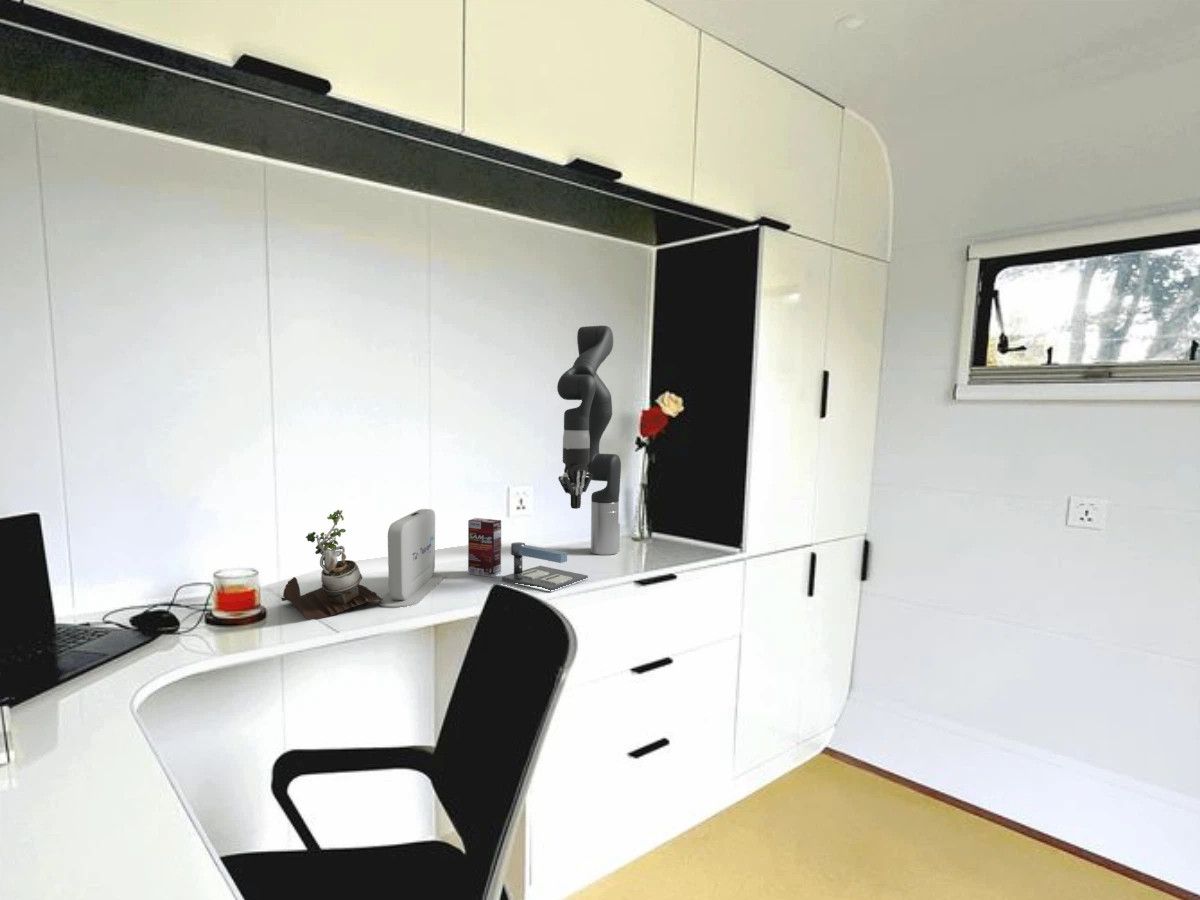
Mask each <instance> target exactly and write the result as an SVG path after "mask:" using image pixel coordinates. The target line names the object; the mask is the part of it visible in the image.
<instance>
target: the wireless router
mask: <svg viewBox="0 0 1200 900" xmlns="http://www.w3.org/2000/svg"><path fill="white" fill-rule="evenodd" d="M387 561H388V562H387V563H388V564H387V565H388V593H386V594H385V595H383V596H382V597H380V598H381V599H383V600H384V601H383V600H377V604H378V606H380V607H383V608H386V607H388V608H387V609H401V608H400V607H403V608H408V607H407V606H409V607H412V605H413V606H415V605H418V604H419V603H420V602H421V601H422V600H423V599H425V598H426V597H427V596H428V595H429V594H430V593H431V592H432V591H433V590H434V589H435V588H436V587H438V586H439V585H440V584H441V582H442V581H444V580H445V575H444V574H442V573H438V572H435V566H436V562H435V561H436V513H435V511H434V510H433V509H431V508H428V509H427V508H421V509H418V510H416V511H414V512H411V513H408V515H404V516H403V517H401V518H399V519H397V520H395V521H393V522H392V523H391V524H390V525H389V527H388V531H387ZM425 596H426V597H425ZM424 597H425V598H424Z"/></svg>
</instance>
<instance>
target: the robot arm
mask: <svg viewBox="0 0 1200 900" xmlns="http://www.w3.org/2000/svg"><path fill="white" fill-rule="evenodd" d="M576 339H577V342H576V343H577V350H578V356H577V358H576V359H575V361H574V363H573V365H572V366H571V367H570V368H569V369H567V371H565V372H564V373H563V374H561V376H560V377H559V379H558V382H557V387H556V389H557V394H558V395H559V397H560V398H562V399H563V400H566V401H581V402H580V404H579V406H577V407H574V408H569V409H565V411H564V414H563V435H562V463H563V464H564V468H563V469H564V471H563V472H564V473H563V474H562V476H561V475H560V476H558V481H559V484H560V485H561V487H562V489H563V490H564V493H565V494H568V495H570V508H571V509H575V510H577V509H581V505H582V495H583V493H586V492H587V490H588V487H589V486H590V484H591V481H595V482H606V486H605V487H604V488H602V489H600V490H597V491H594V492H592V493H591V497H590V498H591V500H590V501H591V503H590V506H591V507H590V509H591V510H590V511H591V512H590V513H591V516H590V523H591V524H590V553H592V554H594V555H600V556H601V555H603V556H604V555H605V556H607V555H609V556H611V555H615V554H618V553H619V551H620V549H621V547H620V545H621V543H620V540H621V538H620V537H621V534H620V533H621V529H620V528H621V524H620V522H619V520H620V519H619V518H620V516H619V515H620V514H619V509H620V503H619V502H620V492H621V491H620V490H621V485H620V484H621V473H622V461H621V458H620V455H618V454H615V453H600V443H601V439H602V436H603V434H604V433H605V431H606V429H607V428H608V425H609V423H610V422H611V419H612V416H613V404H612V403H613V402H612V394H611V392H610V390H609V388H608V387H607V386H606V384H605V383H604V381H603V380H602V379H601V378H600V376H599V375H598V372H597V371H598V370H599V368H600V366H601V365H602V364H603V362H604V361H605V360H606V359H607V358H608V356H609V355H610V354H611V353H612V351H613V348H614V335H613V331H612V329H611V327H610V326H607V325H591V326H590V325H589V326H581V327H579V328H578V331H577V334H576Z"/></svg>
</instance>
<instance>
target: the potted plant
mask: <svg viewBox="0 0 1200 900" xmlns="http://www.w3.org/2000/svg"><path fill="white" fill-rule="evenodd" d="M342 513H344V512H343V510H342V509H340V510H339V509H337V510H336V511H333V514H332V513H330V514H329V515H328V516H326V519H328V520H332V521H333V526H332V527H331V528H330V530H329V531H328V532H327V534H325V532H320V536H319V535H318V534H317V533H316V532H315V531H312V532H309V533H308V534H307V535H306V536H305V539H306V540H307V542H311V543H314V542H315V541H316V542H317V544H316V547H315V552H314V553H315V555H319V554H320V555H321V556H320V559H319V566H320V567H321V569H322V570H321V573H320V574H321V577H320V579H321V587H319V588H317V589H314V590H312V591H310V592H307V593H304V594H301V588H300V584H299V582H298V579H297V578H296V576H294V577H292V578H291V579H290V580H288V581H287V584H285V588H284V590H283V593H282V594H283V595H282V597H281V602H285V601H287V602H289V603H291V604H293V606H295V608H297V609H298V611H299V612H300V613H301V614H302V615H303V616H304V618H305V619H308V620H312V619H314V620H319V619H322V618H327V617H328V618H329V617H332V615H333V616H334V615H337V614H338V613H342V612H344V611H345V610H349V609H351V608H353V607H354V608H355V607H356V606H358V605H360V606H361V605H362V604H366V602H368V603H369V602H372V601H373V602H374V601H379V600H383V599H381V598H382V597H380V596H379V595H378V594H377V593H376V592H375V591H372V590H370V589H369V588H368V587H367V586H364V585H362V584H360V583H361V581H362V580H363V574H361V571H360V568H359V566H358V564H357V562H355V561H354V560H350V559H349V560H348V559H347V555H346V554H345V551H346V548H345V546H344V545H339V542H338V541H337V540H336V538H337V537H341V536H342V533H343V534H344V533H346V531H347V530H346V529H345V528H340V529H339V528H338V527H336V526H337V525H338V522H339V521H340V519H341V521H344V520H345V519H344V517H345V516H343V515H342ZM336 536H337V537H336ZM340 556H341V558H340V559H341V560H338V558H337V557H340ZM383 601H384V600H383Z"/></svg>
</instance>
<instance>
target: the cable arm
mask: <svg viewBox="0 0 1200 900" xmlns="http://www.w3.org/2000/svg"><path fill="white" fill-rule="evenodd" d="M510 555H511V556H513V557H514V556H522V557H523V556H524V557H527V558H528V557H529V558H533V559H538V560H543V561H547V562H552V563H559V564H563V563H565V562H567V561H568V552H566V551H561V550H555V549H550V548H544V547H541V546H540V547H538V546H533V545H528V544H526V543H525V542H520V541H519V542H517V541H516V542H512V543H510Z"/></svg>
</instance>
